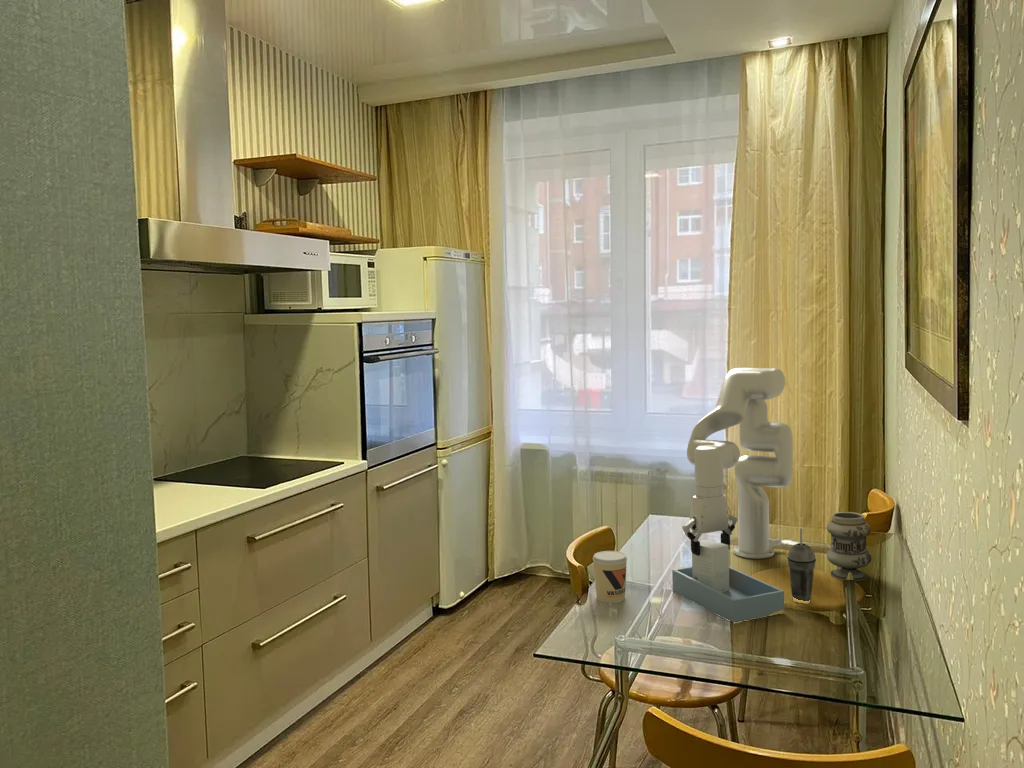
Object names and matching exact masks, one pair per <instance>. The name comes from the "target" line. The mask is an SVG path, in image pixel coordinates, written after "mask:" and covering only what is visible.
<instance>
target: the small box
mask: <svg viewBox="0 0 1024 768" xmlns="http://www.w3.org/2000/svg"><path fill="white" fill-rule="evenodd" d="M698 541H699V542H700V555H699V556H697V555H695V554H693V553H692V552H691V566H692V578H693V579H695V580H697V581H699V582H701V583H703V584H705V585H707V586H709V587H711V588H713V589H715V590H717V591H719V592H721V593H724V592H726V591H729V567H730V562H729V561H730V552H729V550H730V549H729V545H727V544H723V543H721V542H718V541H715V540H710V539H702V540H698Z"/></svg>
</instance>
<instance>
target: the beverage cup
mask: <svg viewBox="0 0 1024 768" xmlns="http://www.w3.org/2000/svg"><path fill="white" fill-rule="evenodd" d="M786 558H787V563H788V568H789V576H790V577H789V578H790V588H791V589H790V590H791V597H792V596H793V597H794V598H796V599H798V600H803V601H809V600H810V601H811V599H812V592H813V580H814V571H815V570H814V569H815V566H816V562H817V558H816V555H815V552H814V550H813V548H812V547H811V546H810V545H808V544H806V543H803V528H799V542H798V543H795V544H794V545H792V546H791V547H790V548H789V549H788V552H787V557H786Z"/></svg>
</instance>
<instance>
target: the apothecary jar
mask: <svg viewBox="0 0 1024 768" xmlns="http://www.w3.org/2000/svg"><path fill="white" fill-rule="evenodd" d="M865 519H866V518H865V515H863V514H862V513H858V512H854V511H852V512H851V511H840V512H834V513H833V514H832V517H831V520H830V521H829V522H828V523H827V525H826V530H827V532H828V533H829V534H830V541H831V542H830V548H829V549H828V551H827V552H826V558H827V561H828V562H829V563H831V564H832V565H833V566H836V567H837V568H836V569H833V570H832V571H831V572H830V575H831V576H832V577H833V578H834V579H837V580H841V581H845V580H846V578H847V576H848V573H849V572H851V573H852V576H853V579H854V580H855V581H854V582H861V581H864V580H867V578H868V574H867V573H865V572H864V571H862V570H860V569H861V568H865V567H866V566H868V565H869V564H870V563H871V561H872V555H871V553H870V551H868V549H867V536H869V535H870V534H871V530H872V528H871V526H870V525H869V523H867V522H866V520H865Z"/></svg>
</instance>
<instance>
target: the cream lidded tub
mask: <svg viewBox="0 0 1024 768" xmlns="http://www.w3.org/2000/svg"><path fill="white" fill-rule="evenodd" d="M627 560H628V557H627V555H626V553H624V552H621V551H618V550H604V551H603V550H601V551H598V552H595V553H594V554H593V557H592V561H593V573H594V582H595V583H594V585H595V593H596V599H597V600H598V601H599V602H602V603H606V604H607V603H609V604H610V603H611V604H612V603H615V604H616V603H620V602H623V601H624V600H625V597H626V586H627V585H626V583H627V582H626V581H627V562H628V561H627Z"/></svg>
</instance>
